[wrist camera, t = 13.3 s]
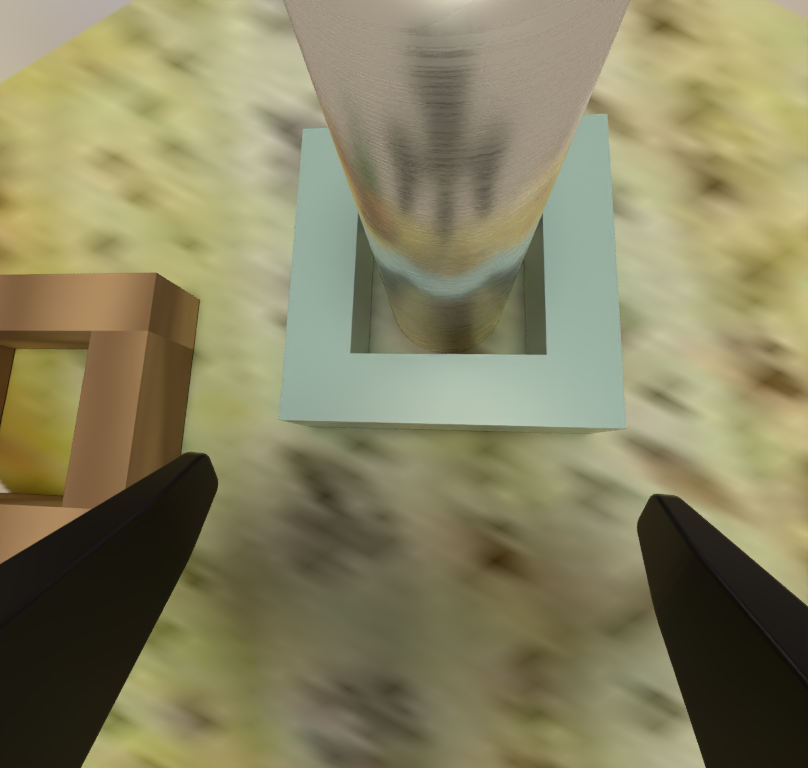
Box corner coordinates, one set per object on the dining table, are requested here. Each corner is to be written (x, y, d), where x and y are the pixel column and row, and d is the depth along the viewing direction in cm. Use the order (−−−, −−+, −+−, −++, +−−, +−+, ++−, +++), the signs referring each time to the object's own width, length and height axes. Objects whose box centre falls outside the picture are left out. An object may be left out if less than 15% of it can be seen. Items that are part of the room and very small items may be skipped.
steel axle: (523, 281, 18) (769, -247, 4) (465, 373, 18) (539, 101, 4) (430, 231, 19) (395, -340, 5) (372, 317, 19) (172, -64, 5)
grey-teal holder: (577, 175, 19) (607, 113, 15) (589, 433, 17) (626, 428, 13) (327, 184, 20) (302, 129, 17) (310, 426, 18) (278, 419, 15)
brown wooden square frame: (199, 299, 20) (156, 272, 17) (167, 560, 18) (111, 581, 15) (-20, 301, 21) (-96, 276, 18) (-73, 545, 19) (-168, 561, 16)
